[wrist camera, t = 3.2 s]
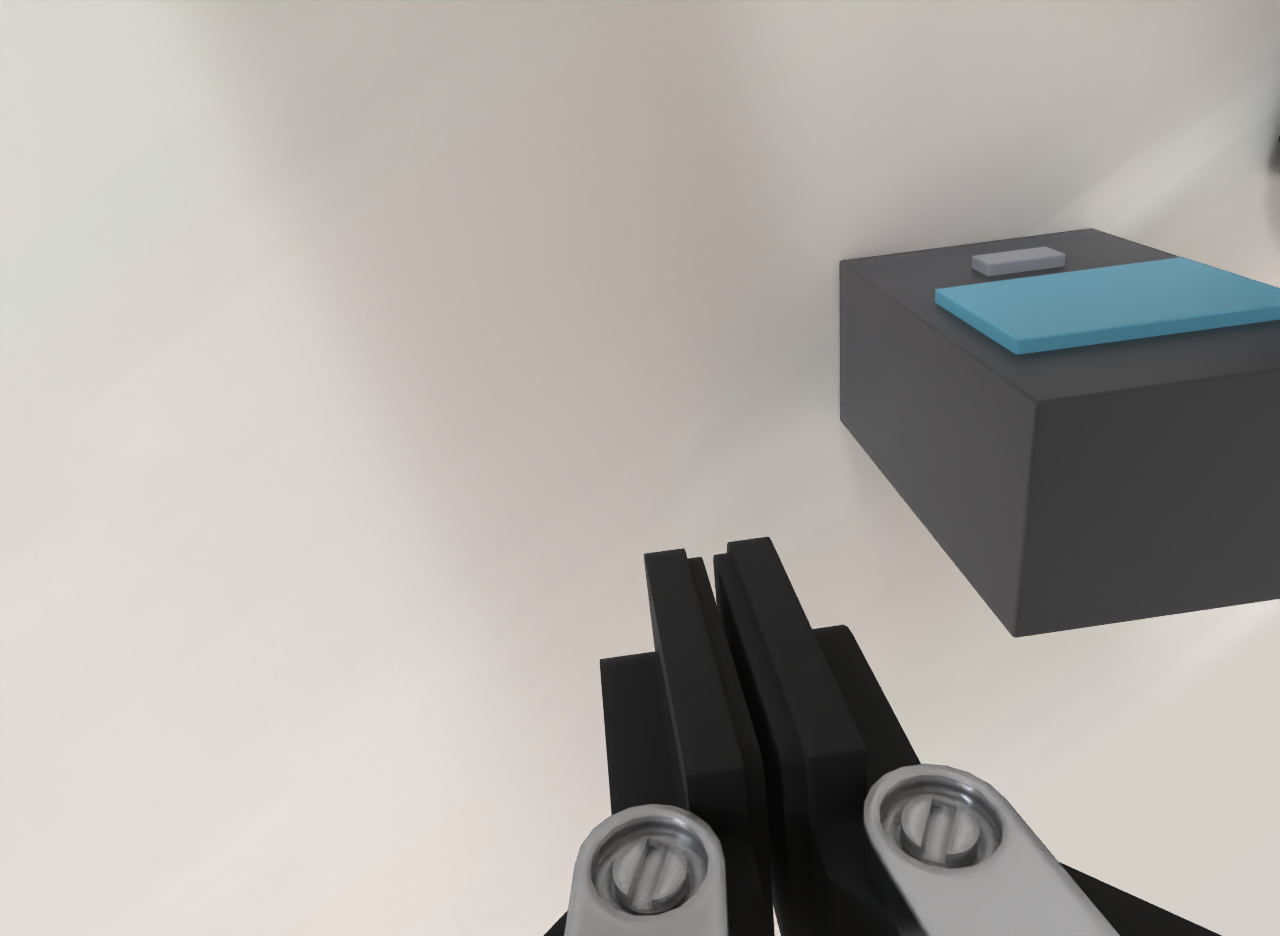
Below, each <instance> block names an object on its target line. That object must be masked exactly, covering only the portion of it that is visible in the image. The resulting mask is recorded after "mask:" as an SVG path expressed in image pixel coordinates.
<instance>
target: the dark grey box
mask: <svg viewBox="0 0 1280 936" xmlns="http://www.w3.org/2000/svg"><path fill="white" fill-rule="evenodd" d="M840 420H841V421H842V423H843V424H844V425H845V426H846V428H847V429H848V430H849V431H850V433H851V434H852V435H853V437H854V438H855V439H856V440H857V442H858V443H859V444H860V445H861V447H862V448H863V449H864V450H865V452H866V453H867V454H868V455H869V457H870V458H871V459H872V460H873V462H874V463H875V464H876V465H877V467H878V468H879V469H880V470H881V472H882V473H883V474H884V475H885V477H886V478H887V479H888V480H889V482H890V483H891V484H892V486H893V487H894V488H895V489H896V491H897V492H898V493H899V494H900V496H901V497H902V498H903V499H904V501H905V502H906V503H907V504H908V506H909V507H910V508H911V509H912V511H913V512H914V513H915V514H916V516H917V517H918V518H919V519H920V521H921V522H922V523H923V524H924V526H925V527H926V528H927V529H928V531H929V532H930V533H931V535H932V536H933V537H934V538H935V540H936V541H937V542H938V543H939V545H940V546H941V547H942V548H943V550H944V551H945V552H946V553H947V555H948V556H949V557H950V558H951V560H952V561H953V562H954V563H955V565H956V566H957V567H958V568H959V570H960V571H961V572H962V573H963V575H964V576H965V577H966V578H967V580H968V581H969V582H970V584H971V585H972V586H973V587H974V589H975V590H976V591H977V592H978V594H979V595H980V596H981V597H982V599H983V600H984V601H985V602H986V604H987V605H988V606H989V607H990V609H991V610H992V611H993V612H994V614H995V615H996V616H997V617H998V619H999V620H1000V621H1001V622H1002V624H1003V625H1004V626H1005V627H1006V629H1007V630H1008V631H1009V633H1010V634H1011V635H1012V636H1013V637H1023V636H1030V635H1036V634H1043V633H1050V632H1057V631H1064V630H1070V629H1077V628H1084V627H1091V626H1098V625H1104V624H1111V623H1118V622H1125V621H1132V620H1138V619H1145V618H1152V617H1159V616H1166V615H1172V614H1179V613H1186V612H1193V611H1200V610H1206V609H1213V608H1220V607H1227V606H1234V605H1240V604H1247V603H1254V602H1261V601H1268V600H1274V599H1280V288H1277V287H1274V286H1271V285H1268V284H1265V283H1262V282H1259V281H1255V280H1252V279H1249V278H1246V277H1243V276H1240V275H1237V274H1234V273H1231V272H1227V271H1224V270H1221V269H1218V268H1215V267H1212V266H1209V265H1206V264H1202V263H1199V262H1196V261H1193V260H1190V259H1187V258H1184V257H1179V256H1176V255H1173V254H1170V253H1167V252H1164V251H1160V250H1157V249H1154V248H1151V247H1148V246H1145V245H1142V244H1139V243H1136V242H1132V241H1129V240H1126V239H1123V238H1120V237H1117V236H1114V235H1111V234H1108V233H1105V232H1101V231H1098V230H1095V229H1084V230H1076V231H1068V232H1061V233H1053V234H1045V235H1037V236H1029V237H1022V238H1014V239H1006V240H998V241H991V242H983V243H975V244H967V245H959V246H952V247H944V248H936V249H928V250H921V251H913V252H905V253H897V254H889V255H882V256H874V257H866V258H858V259H851V260H843V261H840Z"/></svg>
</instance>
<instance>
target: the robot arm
mask: <svg viewBox="0 0 1280 936" xmlns="http://www.w3.org/2000/svg"><path fill="white" fill-rule="evenodd" d="M644 561H645V570H646V578H647V587H648V595H649V603H650V612H651V620H652V629H653V637H654V645H655V652H648V653H641V654H634V655H627V656H620V657H613V658H606V659H600V671H601V684H602V697H603V709H604V722H605V735H606V748H607V761H608V773H609V786H610V799H611V812H612V815H611V816H610V817H608V818H607V819H606V820H604V821H603V822H602V823H600V824H599V825H598V826H597V827H595V828H594V829H593V830H592V832H591V833H590V834H589V836H588V837H587V838H586V840H585V841H584V842H583V844H582V845H581V847H580V850H579V853H578V856H577V859H576V862H575V866H574V873H573V880H572V887H571V893H570V900H569V907H568V911H567V912H566V913H565V914H564V915H563V916H562V917H561V918H560V919H559V920H558V921H557V922H556V923H555V924H554V925H553V926H552V927H551V929H550V930H549V931H548V932H547V933H546V934H545V935H544V936H774V919H773V906H774V910H775V914H776V918H777V922H778V925H779V929H780V933H781V936H1221V935H1219V934H1217V933H1215V932H1212V931H1210V930H1208V929H1206V928H1204V927H1201V926H1199V925H1197V924H1195V923H1193V922H1190V921H1188V920H1185V919H1184V918H1181V917H1179V916H1177V915H1175V914H1173V913H1170V912H1168V911H1166V910H1164V909H1162V908H1159V907H1157V906H1155V905H1153V904H1150V903H1148V902H1146V901H1144V900H1142V899H1140V898H1137V897H1135V896H1133V895H1131V894H1128V893H1126V892H1123V891H1122V890H1119V889H1117V888H1115V887H1113V886H1111V885H1109V884H1106V883H1104V882H1102V881H1100V880H1098V879H1095V878H1093V877H1091V876H1089V875H1086V874H1084V873H1082V872H1080V871H1078V870H1075V869H1073V868H1071V867H1069V866H1067V865H1064V864H1062V863H1060V862H1058V861H1057V860H1056V859H1055V857H1054V856H1053V855H1052V854H1051V853H1050V851H1049V850H1048V849H1047V848H1046V846H1045V845H1044V844H1043V843H1042V842H1041V840H1040V839H1039V838H1038V837H1037V836H1036V834H1035V833H1034V832H1033V831H1032V830H1031V828H1030V827H1029V826H1028V825H1027V824H1026V822H1025V821H1024V820H1023V819H1022V818H1021V816H1020V815H1019V814H1018V813H1017V812H1016V810H1015V809H1014V808H1013V807H1012V806H1011V804H1010V803H1009V802H1008V801H1007V800H1006V799H1005V798H1004V797H1003V796H1002V795H1001V794H1000V793H999V792H998V791H997V790H996V789H994V788H993V787H992V786H991V785H990V784H988V783H987V782H985V781H983V780H981V779H979V778H978V777H976V776H974V775H972V774H971V773H968V772H965V771H962V770H959V769H955V768H952V767H949V766H943V765H932V764H921V763H920V761H919V759H918V757H917V756H916V754H915V752H914V750H913V748H912V746H911V744H910V742H909V740H908V738H907V737H906V735H905V733H904V731H903V729H902V727H901V725H900V723H899V721H898V719H897V718H896V716H895V714H894V712H893V710H892V708H891V706H890V704H889V702H888V700H887V699H886V697H885V695H884V693H883V691H882V689H881V687H880V685H879V683H878V681H877V680H876V678H875V676H874V674H873V672H872V670H871V668H870V666H869V664H868V662H867V661H866V659H865V657H864V655H863V653H862V651H861V649H860V647H859V645H858V643H857V642H856V640H855V638H854V636H853V634H852V633H851V631H850V630H849V628H848V627H847V626H845V625H839V626H832V627H825V628H818V629H812V628H811V626H810V624H809V622H808V620H807V617H806V615H805V613H804V611H803V609H802V606H801V604H800V602H799V600H798V598H797V596H796V593H795V591H794V589H793V587H792V585H791V582H790V580H789V578H788V576H787V574H786V572H785V569H784V567H783V565H782V563H781V561H780V558H779V556H778V554H777V552H776V550H775V548H774V545H773V543H772V541H771V539H770V538H769V537H763V538H755V539H748V540H741V541H734V542H728V544H727V553H725V554H718V555H714V558H713V562H714V576H715V589H716V601H717V605H716V602H715V598H714V595H713V592H712V588H711V585H710V582H709V579H708V575H707V572H706V569H705V565H704V562H703V559H702V557H696V558H689V559H687V556H686V552H685V549H684V548H683V549H675V550H668V551H661V552H654V553H646V554H644Z"/></svg>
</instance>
